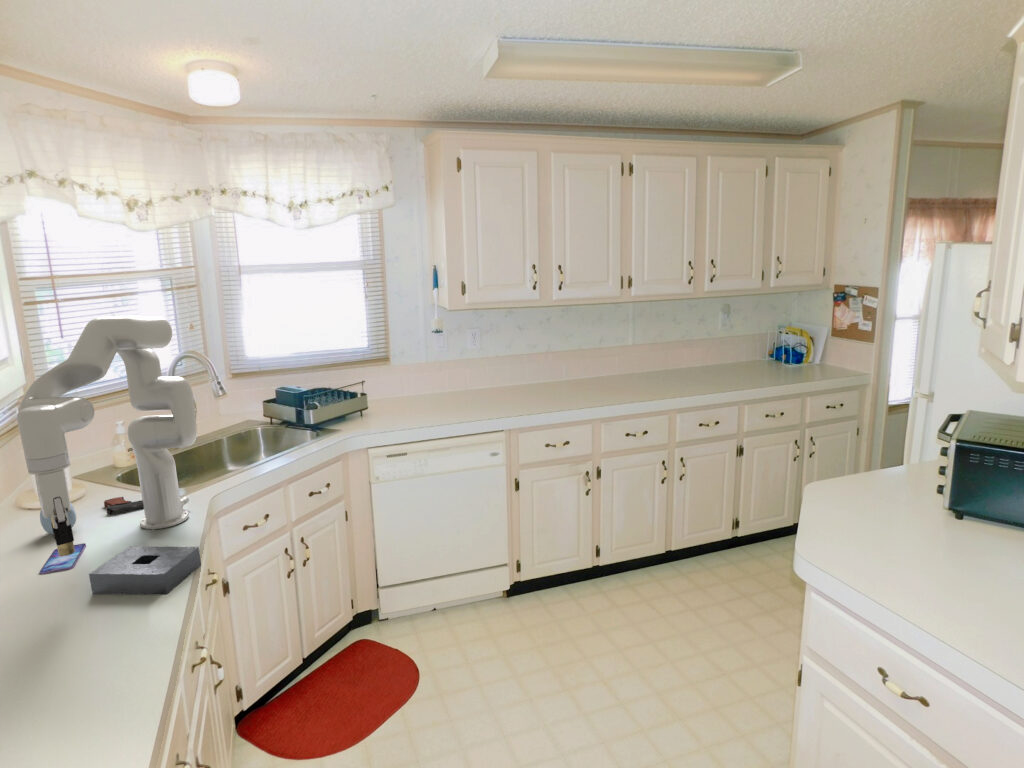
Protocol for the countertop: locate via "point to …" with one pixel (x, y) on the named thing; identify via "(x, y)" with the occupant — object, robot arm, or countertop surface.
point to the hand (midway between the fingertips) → (64, 539)
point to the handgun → (121, 505)
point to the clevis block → (145, 570)
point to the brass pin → (64, 545)
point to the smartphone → (62, 560)
